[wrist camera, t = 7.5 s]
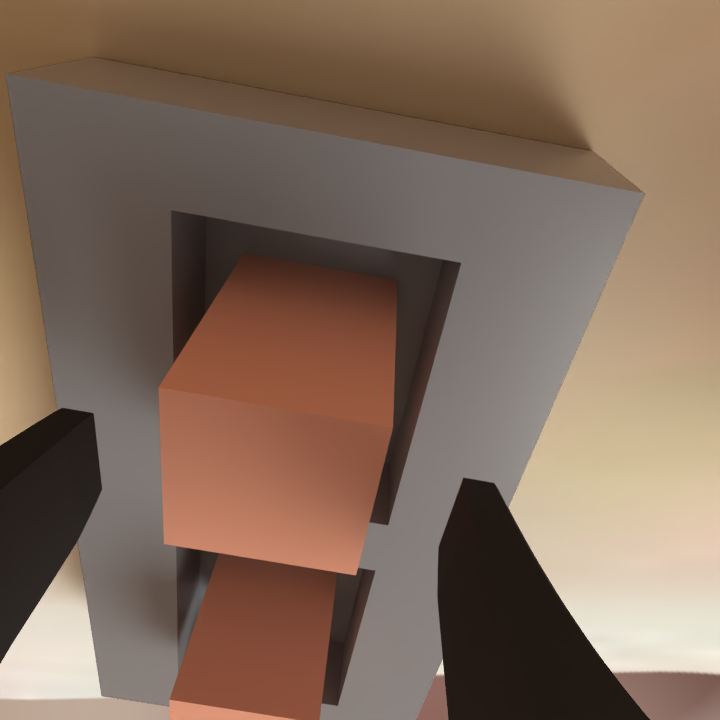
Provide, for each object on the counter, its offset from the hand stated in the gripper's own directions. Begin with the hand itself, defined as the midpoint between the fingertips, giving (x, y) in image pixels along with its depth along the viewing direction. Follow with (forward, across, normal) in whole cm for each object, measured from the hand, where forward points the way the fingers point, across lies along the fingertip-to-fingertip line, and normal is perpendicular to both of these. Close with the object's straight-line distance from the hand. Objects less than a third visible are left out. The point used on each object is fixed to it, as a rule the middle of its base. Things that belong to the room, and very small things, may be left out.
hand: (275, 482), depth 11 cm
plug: (+6, 0, 0) cm, 6 cm away
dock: (+6, 0, +5) cm, 8 cm away
